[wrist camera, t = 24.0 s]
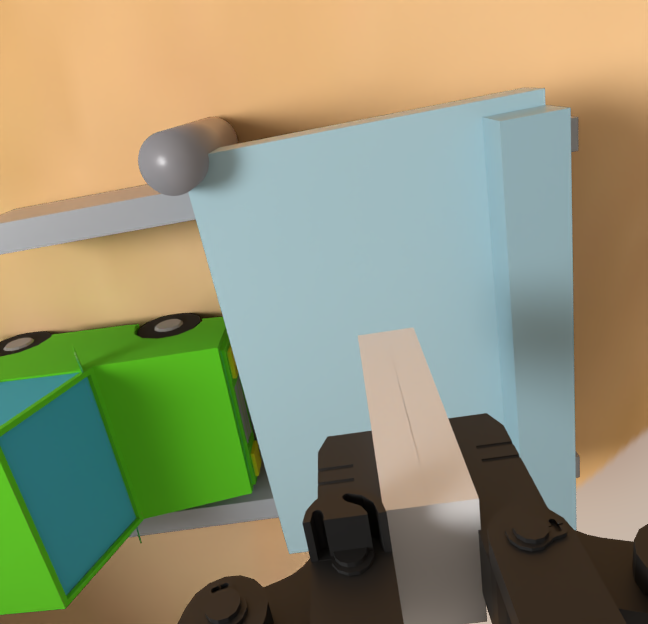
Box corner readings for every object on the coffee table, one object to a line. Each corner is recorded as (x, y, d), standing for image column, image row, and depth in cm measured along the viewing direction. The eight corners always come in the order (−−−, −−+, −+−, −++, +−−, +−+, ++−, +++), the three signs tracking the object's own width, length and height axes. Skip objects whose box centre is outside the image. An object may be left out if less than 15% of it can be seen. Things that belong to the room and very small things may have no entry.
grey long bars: (125, 488, 32) (98, 541, 28) (14, 209, 26) (-40, 230, 22) (548, 428, 30) (579, 477, 26) (539, 111, 24) (578, 117, 20)
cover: (279, 469, 31) (262, 594, 23) (186, 121, 24) (119, 140, 16) (515, 435, 30) (576, 554, 22) (490, 60, 23) (569, 50, 15)
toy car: (273, 452, 31) (249, 611, 22) (46, 477, 32) (-71, 640, 22) (237, 282, 27) (188, 386, 18) (-21, 315, 28) (-195, 431, 19)
